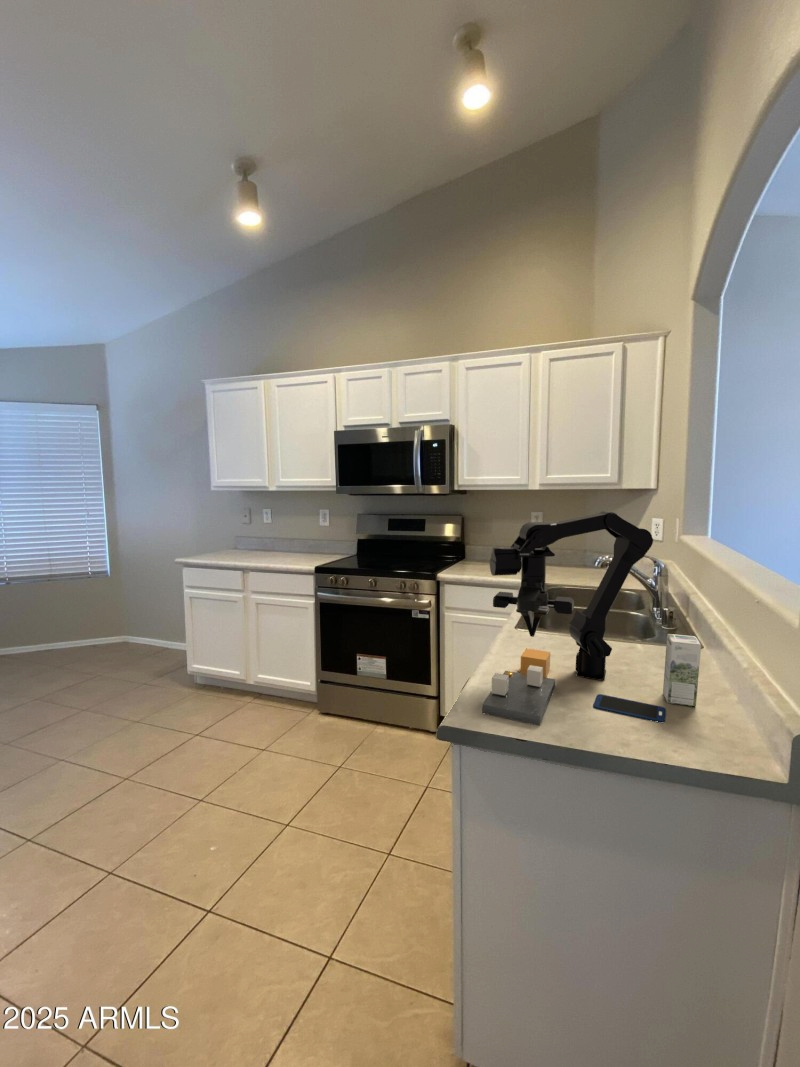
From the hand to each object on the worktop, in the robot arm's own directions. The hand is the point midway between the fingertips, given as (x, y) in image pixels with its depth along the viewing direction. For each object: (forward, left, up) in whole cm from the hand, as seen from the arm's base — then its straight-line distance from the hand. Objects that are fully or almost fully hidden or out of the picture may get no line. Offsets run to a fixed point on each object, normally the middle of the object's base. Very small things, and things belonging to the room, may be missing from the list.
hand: (532, 636), depth 124 cm
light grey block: (-3, +9, -8) cm, 13 cm away
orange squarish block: (-1, -3, -10) cm, 11 cm away
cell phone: (-23, +8, -11) cm, 26 cm away
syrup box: (-33, -1, -11) cm, 34 cm away
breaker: (+3, +17, -8) cm, 19 cm away
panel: (-1, +14, -10) cm, 18 cm away
